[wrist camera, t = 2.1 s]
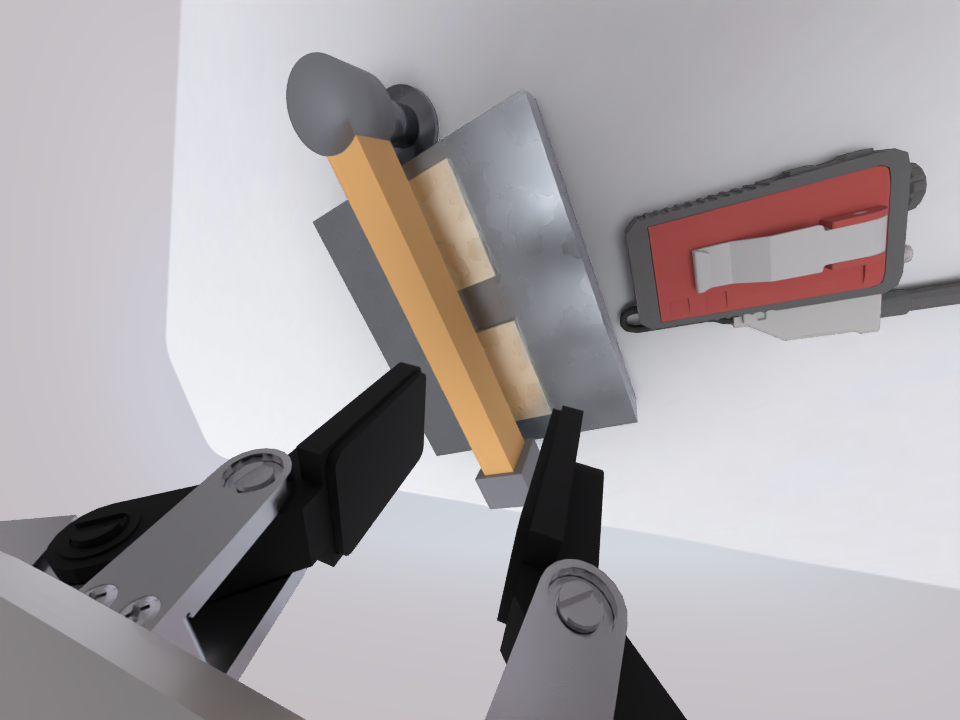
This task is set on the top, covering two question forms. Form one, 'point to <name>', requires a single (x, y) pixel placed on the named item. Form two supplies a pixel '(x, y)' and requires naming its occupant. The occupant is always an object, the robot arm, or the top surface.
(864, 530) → the top surface
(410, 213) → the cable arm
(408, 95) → the pivot post
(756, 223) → the walkie-talkie
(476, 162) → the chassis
